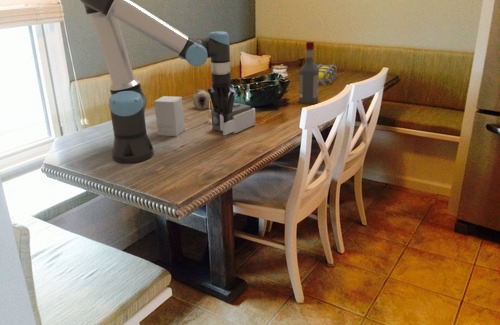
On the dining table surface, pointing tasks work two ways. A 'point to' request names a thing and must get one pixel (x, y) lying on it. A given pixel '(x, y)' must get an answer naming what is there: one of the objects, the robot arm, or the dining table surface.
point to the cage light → (327, 74)
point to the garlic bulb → (201, 99)
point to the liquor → (309, 78)
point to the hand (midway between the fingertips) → (223, 129)
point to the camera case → (236, 110)
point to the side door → (239, 122)
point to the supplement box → (169, 115)
